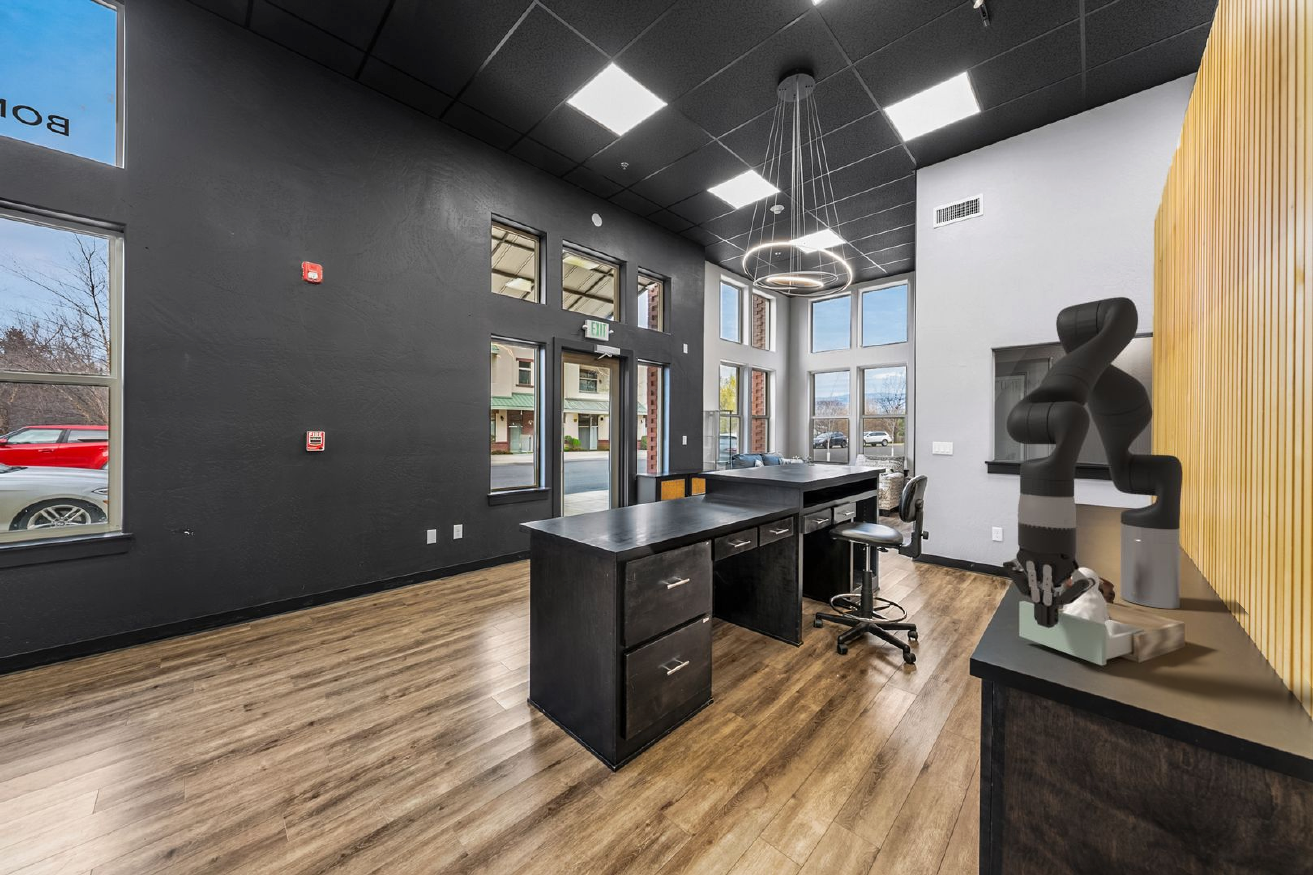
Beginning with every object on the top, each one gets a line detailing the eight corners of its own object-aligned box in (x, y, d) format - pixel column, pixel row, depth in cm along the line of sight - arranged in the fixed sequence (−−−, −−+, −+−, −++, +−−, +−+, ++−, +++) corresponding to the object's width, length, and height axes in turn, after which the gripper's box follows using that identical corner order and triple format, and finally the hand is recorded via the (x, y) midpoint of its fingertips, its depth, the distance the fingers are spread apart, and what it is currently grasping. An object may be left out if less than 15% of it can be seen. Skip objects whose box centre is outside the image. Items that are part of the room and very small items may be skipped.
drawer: (1101, 665, 75) (1101, 626, 75) (1019, 635, 86) (1019, 601, 86) (1151, 650, 80) (1151, 613, 80) (1067, 624, 91) (1067, 592, 91)
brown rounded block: (1044, 599, 109) (1055, 566, 111) (1085, 619, 108) (1096, 586, 109) (1087, 606, 98) (1100, 569, 99) (1134, 629, 96) (1146, 592, 98)
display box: (1138, 662, 78) (1138, 635, 78) (1053, 634, 90) (1053, 610, 90) (1184, 647, 84) (1184, 622, 84) (1099, 622, 95) (1099, 600, 95)
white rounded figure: (1057, 638, 83) (1057, 570, 83) (1063, 625, 89) (1063, 561, 89) (1107, 650, 78) (1107, 577, 78) (1110, 635, 84) (1110, 568, 84)
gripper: (1109, 527, 74) (1108, 637, 74) (1017, 514, 87) (1017, 609, 87) (1080, 530, 72) (1080, 645, 71) (990, 517, 84) (990, 614, 84)
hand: (1045, 625), depth 79 cm, fingers closed
